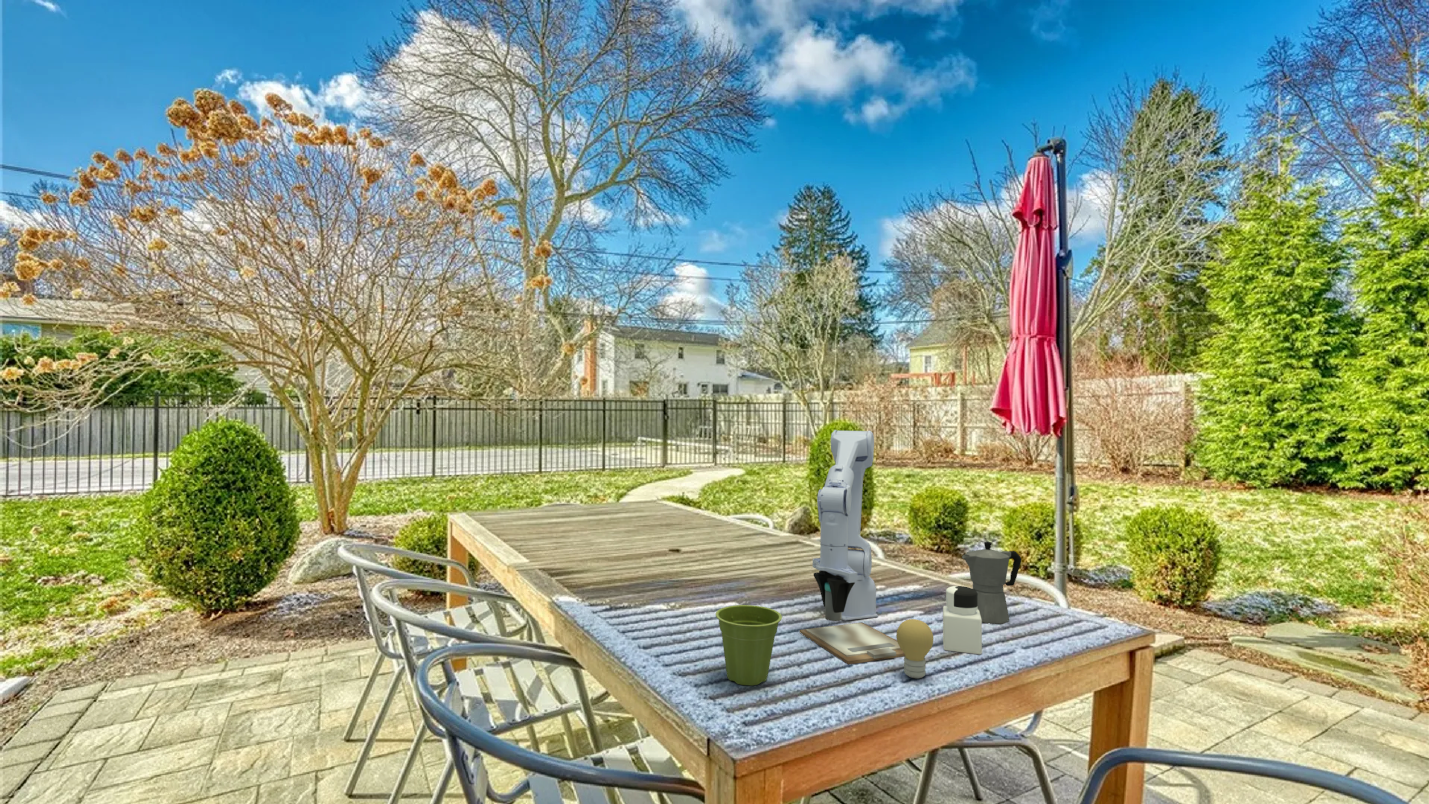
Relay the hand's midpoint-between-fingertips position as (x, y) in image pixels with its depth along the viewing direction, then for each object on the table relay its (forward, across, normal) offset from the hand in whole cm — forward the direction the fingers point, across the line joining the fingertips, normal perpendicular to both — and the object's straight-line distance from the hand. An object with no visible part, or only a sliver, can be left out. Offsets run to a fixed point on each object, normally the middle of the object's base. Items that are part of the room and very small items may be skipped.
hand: (833, 609), depth 131 cm
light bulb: (+7, +21, +4) cm, 22 cm away
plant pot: (+7, +12, -25) cm, 28 cm away
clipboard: (+6, +3, +4) cm, 8 cm away
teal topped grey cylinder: (+2, 0, 0) cm, 2 cm away
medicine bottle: (+7, +12, +23) cm, 27 cm away
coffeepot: (+6, -1, +44) cm, 45 cm away
